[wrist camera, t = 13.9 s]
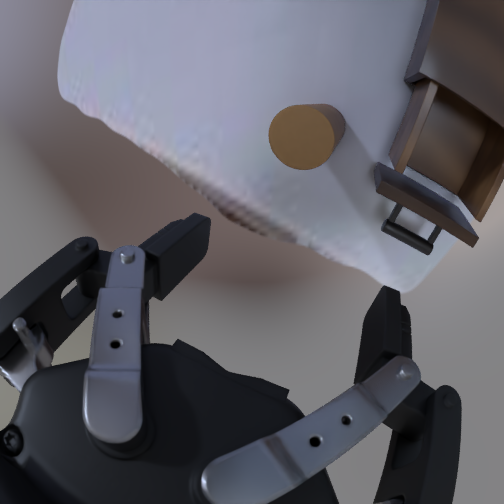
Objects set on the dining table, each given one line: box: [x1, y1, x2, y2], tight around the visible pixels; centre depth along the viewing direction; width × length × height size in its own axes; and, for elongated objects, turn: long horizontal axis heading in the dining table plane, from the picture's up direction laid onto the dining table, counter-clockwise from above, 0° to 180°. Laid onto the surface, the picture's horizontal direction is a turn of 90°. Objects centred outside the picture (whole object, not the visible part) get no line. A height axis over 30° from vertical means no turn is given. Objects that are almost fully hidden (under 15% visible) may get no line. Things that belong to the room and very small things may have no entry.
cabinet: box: [403, 0, 504, 130], centre depth 13 cm, size 15×13×10 cm
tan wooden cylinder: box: [269, 104, 345, 170], centre depth 24 cm, size 5×5×12 cm
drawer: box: [374, 77, 504, 255], centre depth 21 cm, size 18×11×8 cm, turn 163°
